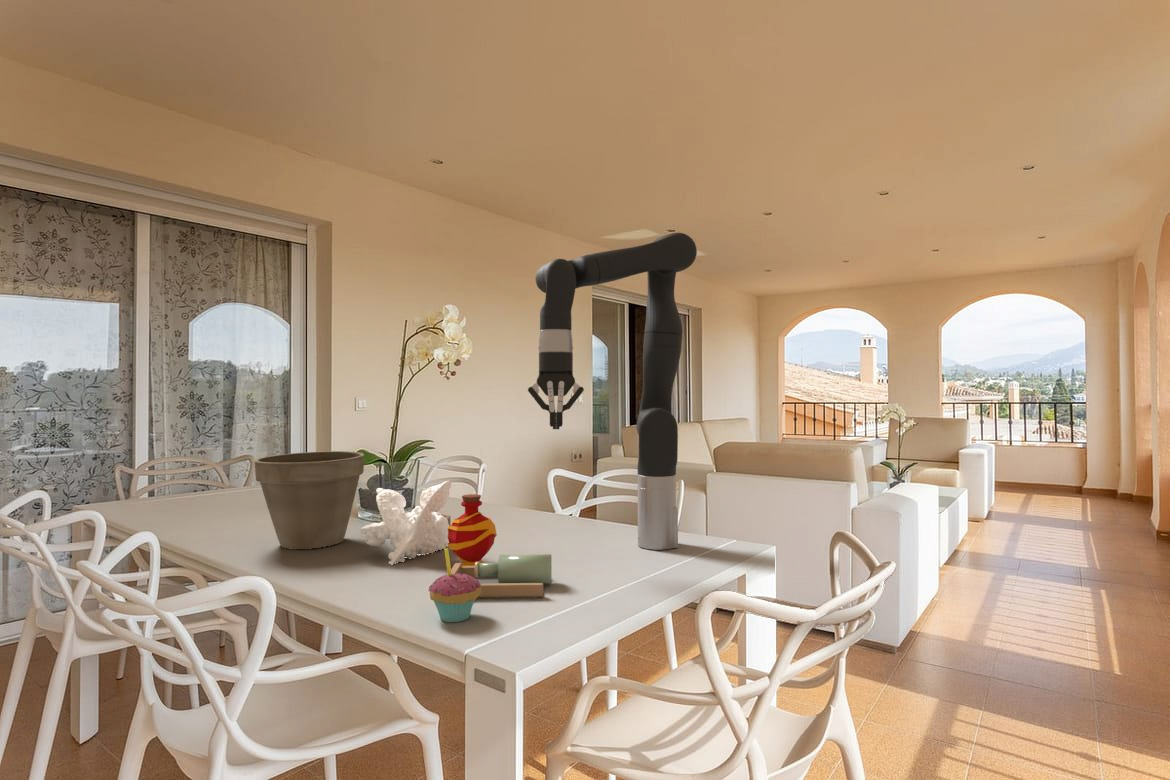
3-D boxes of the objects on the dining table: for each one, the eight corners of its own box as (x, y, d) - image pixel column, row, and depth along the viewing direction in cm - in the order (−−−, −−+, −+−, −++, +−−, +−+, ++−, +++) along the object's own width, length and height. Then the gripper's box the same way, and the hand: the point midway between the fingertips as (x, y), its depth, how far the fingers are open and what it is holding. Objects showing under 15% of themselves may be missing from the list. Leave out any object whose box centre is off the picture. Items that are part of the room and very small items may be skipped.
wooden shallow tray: (545, 577, 131) (545, 562, 131) (542, 598, 118) (542, 581, 118) (455, 578, 130) (455, 563, 130) (442, 599, 117) (442, 582, 117)
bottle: (551, 559, 129) (478, 560, 129) (551, 550, 125) (474, 551, 124) (551, 586, 127) (476, 587, 126) (550, 578, 122) (472, 579, 122)
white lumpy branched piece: (468, 504, 163) (444, 470, 146) (459, 584, 152) (432, 558, 136) (395, 507, 165) (364, 474, 148) (382, 586, 154) (346, 560, 138)
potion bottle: (474, 574, 133) (473, 501, 133) (437, 567, 138) (436, 497, 138) (506, 563, 141) (506, 494, 141) (470, 556, 147) (470, 490, 147)
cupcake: (418, 622, 105) (418, 548, 105) (447, 606, 113) (447, 537, 113) (464, 629, 102) (464, 553, 102) (491, 612, 110) (491, 541, 110)
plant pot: (257, 561, 144) (256, 463, 144) (252, 539, 165) (252, 454, 165) (373, 547, 156) (373, 457, 156) (354, 528, 178) (354, 449, 178)
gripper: (585, 352, 148) (585, 428, 148) (527, 352, 148) (527, 428, 148) (586, 350, 141) (586, 430, 141) (524, 350, 140) (525, 430, 140)
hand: (556, 429), depth 144 cm, fingers closed
